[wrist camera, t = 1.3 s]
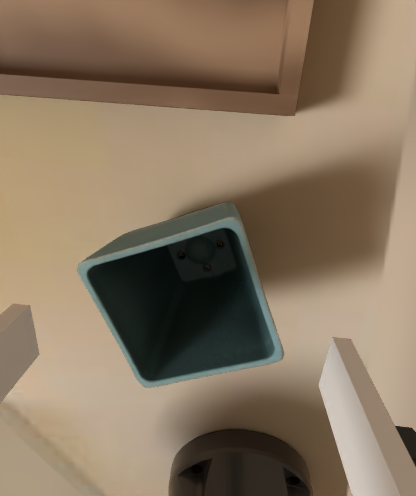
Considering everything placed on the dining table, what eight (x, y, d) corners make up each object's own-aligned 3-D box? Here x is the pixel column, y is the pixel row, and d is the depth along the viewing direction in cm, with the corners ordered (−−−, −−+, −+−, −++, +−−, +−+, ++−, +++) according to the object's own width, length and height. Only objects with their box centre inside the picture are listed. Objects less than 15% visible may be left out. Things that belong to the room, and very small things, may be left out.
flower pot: (169, 307, 27) (141, 392, 19) (126, 213, 24) (71, 265, 16) (269, 281, 25) (287, 362, 17) (237, 177, 22) (239, 213, 14)
